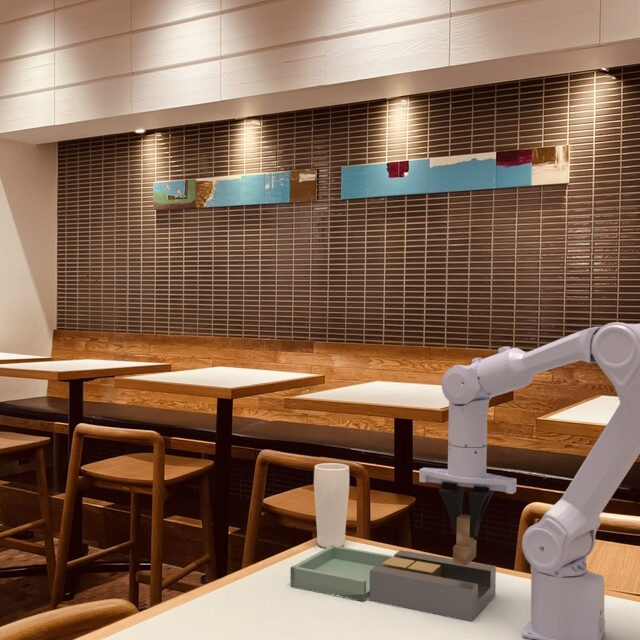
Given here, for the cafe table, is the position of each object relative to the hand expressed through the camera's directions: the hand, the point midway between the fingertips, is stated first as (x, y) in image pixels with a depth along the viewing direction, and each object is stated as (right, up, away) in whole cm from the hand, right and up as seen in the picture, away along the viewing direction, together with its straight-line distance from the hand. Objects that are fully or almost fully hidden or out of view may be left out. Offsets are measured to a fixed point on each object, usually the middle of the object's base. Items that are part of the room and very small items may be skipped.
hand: (465, 534), depth 112 cm
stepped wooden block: (0, -4, 0) cm, 4 cm away
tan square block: (-6, -8, +3) cm, 11 cm away
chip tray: (-18, -10, +10) cm, 23 cm away
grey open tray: (-5, -10, +2) cm, 11 cm away
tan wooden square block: (-10, -8, +5) cm, 14 cm away
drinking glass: (-20, -11, +29) cm, 37 cm away
